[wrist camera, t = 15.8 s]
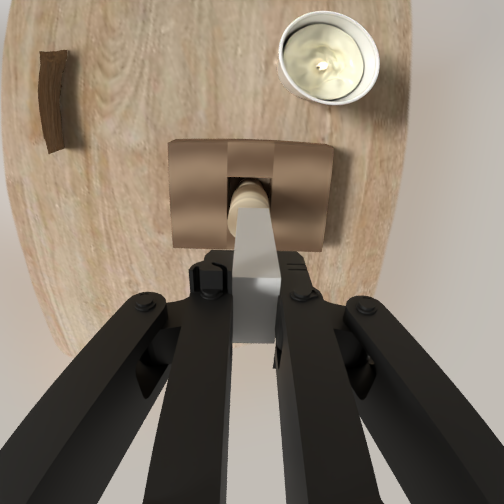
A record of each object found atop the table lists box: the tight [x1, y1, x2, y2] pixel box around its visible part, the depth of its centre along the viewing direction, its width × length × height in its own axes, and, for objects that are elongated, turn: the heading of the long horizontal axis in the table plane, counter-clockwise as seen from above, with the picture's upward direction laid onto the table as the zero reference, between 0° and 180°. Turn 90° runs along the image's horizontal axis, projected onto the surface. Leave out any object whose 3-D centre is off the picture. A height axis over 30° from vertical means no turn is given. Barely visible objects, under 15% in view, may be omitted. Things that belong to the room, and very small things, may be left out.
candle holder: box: [276, 11, 380, 105], centre depth 29 cm, size 10×10×12 cm
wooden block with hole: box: [168, 139, 334, 252], centre depth 40 cm, size 14×20×4 cm
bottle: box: [227, 178, 272, 237], centre depth 36 cm, size 4×4×12 cm
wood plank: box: [38, 50, 67, 154], centre depth 32 cm, size 15×2×5 cm, turn 1°
